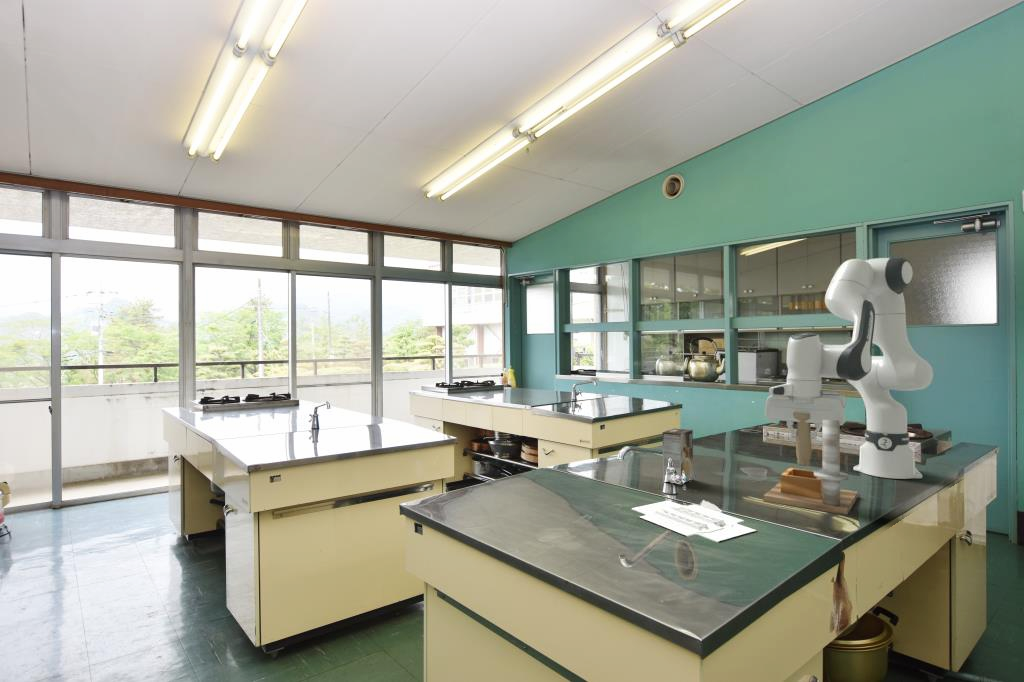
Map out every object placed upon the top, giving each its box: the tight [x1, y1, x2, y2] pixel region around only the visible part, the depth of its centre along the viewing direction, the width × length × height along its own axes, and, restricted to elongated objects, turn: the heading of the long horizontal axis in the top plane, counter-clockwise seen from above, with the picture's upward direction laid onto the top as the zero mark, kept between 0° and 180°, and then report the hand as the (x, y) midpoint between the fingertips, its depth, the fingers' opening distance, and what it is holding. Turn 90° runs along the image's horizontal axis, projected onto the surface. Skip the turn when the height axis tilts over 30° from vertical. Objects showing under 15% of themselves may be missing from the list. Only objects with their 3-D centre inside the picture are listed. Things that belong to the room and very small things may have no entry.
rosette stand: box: [763, 419, 859, 516], centre depth 153 cm, size 21×20×24 cm
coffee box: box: [662, 428, 694, 483], centre depth 174 cm, size 9×6×16 cm
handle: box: [794, 413, 813, 467], centre depth 156 cm, size 5×6×15 cm
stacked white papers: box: [631, 499, 758, 543], centre depth 137 cm, size 20×28×4 cm
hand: (803, 438), depth 156 cm, fingers closed on handle, 3 cm apart
